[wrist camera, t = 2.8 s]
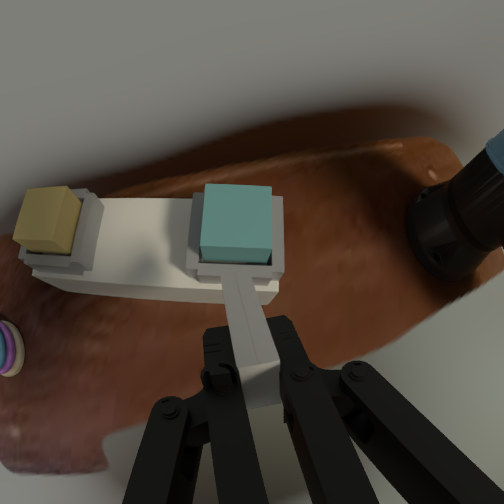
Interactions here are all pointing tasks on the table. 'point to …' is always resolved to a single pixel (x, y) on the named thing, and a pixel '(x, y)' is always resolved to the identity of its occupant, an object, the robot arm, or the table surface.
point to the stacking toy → (10, 349)
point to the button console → (150, 252)
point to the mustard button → (48, 220)
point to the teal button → (236, 223)
